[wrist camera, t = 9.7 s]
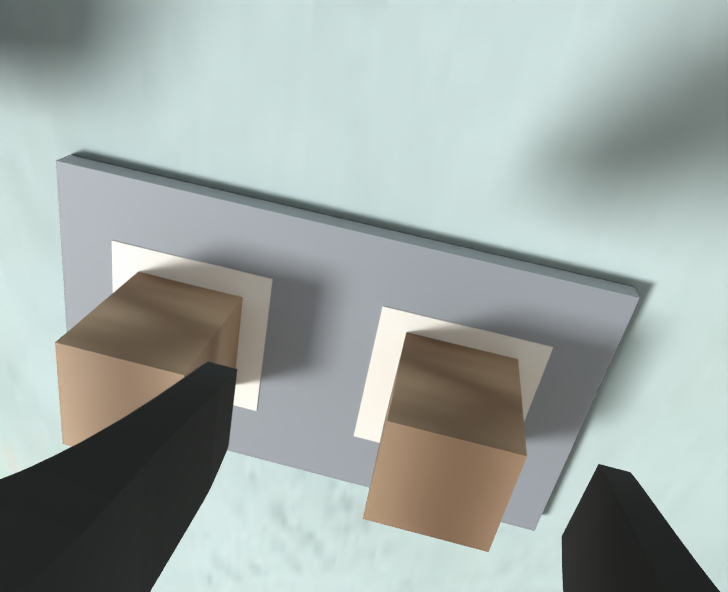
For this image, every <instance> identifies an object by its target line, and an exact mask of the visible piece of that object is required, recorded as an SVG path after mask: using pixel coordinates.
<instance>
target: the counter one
mask: <svg viewBox="0 0 728 592" xmlns="http://www.w3.org/2000/svg"><path fill="white" fill-rule="evenodd" d="M242 300H243V297H239V296H235V295H231V294H227V293H223V292H219V291H215V290H211V289H207V288H203V287H198V286H194V285H190V284H186V283H182V282H178V281H174V280H170V279H166V278H162V277H158V276H154V275H150V274H146V273H141V272H137V273H136V274H135V275H133V276H132V277H131V278H130V279H129V280H128V281H126V282H125V283H124V284H123V285H122V286H121V287H119V288H118V289H117V290H116V291H115V292H114V293H112V294H111V295H110V296H109V297H108V298H107V299H105V300H104V301H103V302H102V303H101V304H100V305H98V306H97V307H96V308H95V309H94V310H93V311H91V312H90V313H89V314H88V315H87V316H86V317H84V318H83V319H82V320H81V321H80V322H79V323H77V324H76V325H75V326H74V327H73V328H72V329H70V330H69V331H68V332H67V333H66V334H65V335H63V336H62V337H61V338H60V339H59V340H57V341H56V342H55V346H56V359H57V373H58V386H59V400H60V413H61V426H62V440H63V444H65V445H69V446H74V445H76V444H78V443H80V442H82V441H83V440H85V439H87V438H89V437H90V436H92V435H94V434H96V433H97V432H99V431H101V430H103V429H104V428H106V427H108V426H110V425H111V424H113V423H115V422H117V421H118V420H120V419H122V418H123V417H125V416H126V415H128V414H130V413H131V412H133V411H134V410H136V409H137V408H139V407H141V406H142V405H144V404H145V403H147V402H148V401H150V400H151V399H153V398H155V397H156V396H158V395H159V394H160V393H162V392H163V391H165V390H166V389H168V388H169V387H171V386H172V385H174V384H175V383H177V382H178V381H180V380H181V379H182V378H184V377H185V376H187V375H188V374H190V373H191V372H192V371H194V370H195V369H197V368H198V367H200V366H201V365H203V364H205V363H206V362H212V363H216V364H220V365H223V366H227V367H231V368H235V369H236V362H237V352H238V342H239V331H240V321H241V310H242Z"/></svg>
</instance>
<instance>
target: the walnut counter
mask: <svg viewBox="0 0 728 592" xmlns="http://www.w3.org/2000/svg"><path fill="white" fill-rule="evenodd" d="M526 458H527V451H526V440H525V429H524V418H523V407H522V396H521V385H520V374H519V363H518V359H516V358H511V357H507V356H503V355H499V354H495V353H491V352H487V351H482V350H478V349H474V348H470V347H466V346H462V345H458V344H453V343H449V342H445V341H441V340H437V339H433V338H429V337H424V336H420V335H416V334H412V333H408V332H406V335H405V339H404V343H403V348H402V352H401V356H400V360H399V364H398V368H397V372H396V376H395V380H394V384H393V388H392V392H391V396H390V400H389V404H388V408H387V413H386V417H385V421H384V425H383V430H382V434H381V439H380V443H379V448H378V452H377V457H376V461H375V466H374V471H373V475H372V480H371V484H370V489H369V493H368V498H367V502H366V507H365V511H364V516H363V519H365V520H369V521H373V522H377V523H381V524H384V525H388V526H392V527H396V528H400V529H403V530H407V531H411V532H415V533H419V534H422V535H426V536H430V537H434V538H438V539H441V540H445V541H449V542H453V543H457V544H460V545H464V546H468V547H472V548H476V549H479V550H483V551H487V552H489V549H490V547H491V544H492V542H493V539H494V537H495V534H496V532H497V529H498V527H499V524H500V522H501V520H502V517H503V515H504V512H505V510H506V507H507V505H508V502H509V500H510V497H511V495H512V492H513V490H514V487H515V485H516V482H517V480H518V477H519V475H520V472H521V470H522V468H523V465H524V463H525V460H526Z"/></svg>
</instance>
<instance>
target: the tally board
mask: <svg viewBox="0 0 728 592" xmlns="http://www.w3.org/2000/svg"><path fill="white" fill-rule="evenodd" d="M56 169H57V185H58V201H59V216H60V232H61V248H62V264H63V280H64V295H65V311H66V327H67V332H68V331H69V330H70V329H72V328H73V327H74V326H75V325H76V324H77V323H79V322H80V321H81V320H82V319H83V318H84V317H86V316H87V315H88V314H89V313H90V312H91V311H93V310H94V309H95V308H96V307H97V306H98V305H100V304H101V303H102V302H103V301H104V300H105V299H107V298H108V297H109V296H110V295H111V294H112V293H114V292H115V291H116V290H117V289H118V288H119V287H121V286H122V285H123V284H124V283H125V282H126V281H128V280H129V279H130V278H131V277H132V276H133V275H135V274H136V273H137V272H141V273H146V274H150V275H154V276H158V277H162V278H166V279H170V280H174V281H178V282H182V283H186V284H190V285H194V286H198V287H203V288H207V289H211V290H215V291H219V292H223V293H227V294H231V295H235V296H239V297H243V300H242V310H241V321H240V331H239V342H238V352H237V362H236V369H237V378H236V386H235V395H234V404H233V413H232V421H231V430H230V439H229V447H228V449H227V450H228V451H232V452H236V453H240V454H244V455H248V456H251V457H255V458H259V459H263V460H267V461H270V462H274V463H278V464H282V465H286V466H289V467H293V468H297V469H301V470H305V471H308V472H312V473H316V474H320V475H324V476H328V477H331V478H335V479H339V480H343V481H347V482H350V483H354V484H358V485H362V486H366V487H369V488H370V484H371V480H372V475H373V471H374V466H375V461H376V457H377V452H378V448H379V443H380V439H381V434H382V430H383V425H384V421H385V417H386V413H387V408H388V404H389V400H390V396H391V392H392V388H393V384H394V380H395V376H396V372H397V368H398V364H399V360H400V356H401V352H402V348H403V343H404V339H405V335H406V332H408V333H412V334H416V335H420V336H424V337H429V338H433V339H437V340H441V341H445V342H449V343H453V344H458V345H462V346H466V347H470V348H474V349H478V350H482V351H487V352H491V353H495V354H499V355H503V356H507V357H511V358H516V359H518V363H519V374H520V385H521V396H522V407H523V418H524V429H525V440H526V451H527V458H526V460H525V463H524V465H523V468H522V470H521V472H520V475H519V477H518V480H517V482H516V485H515V487H514V490H513V492H512V495H511V497H510V500H509V502H508V505H507V507H506V510H505V512H504V515H503V517H502V520H501V522H503V523H507V524H510V525H514V526H518V527H522V528H526V529H529V530H533V531H535V528H536V526H537V524H538V522H539V519H540V517H541V515H542V513H543V511H544V508H545V506H546V504H547V502H548V500H549V497H550V495H551V493H552V491H553V489H554V486H555V484H556V482H557V480H558V477H559V475H560V473H561V471H562V469H563V466H564V464H565V462H566V460H567V458H568V455H569V453H570V451H571V449H572V447H573V444H574V442H575V440H576V438H577V435H578V433H579V431H580V429H581V427H582V424H583V422H584V420H585V418H586V416H587V413H588V411H589V409H590V407H591V404H592V402H593V400H594V398H595V396H596V393H597V391H598V389H599V387H600V385H601V382H602V380H603V378H604V376H605V374H606V371H607V369H608V367H609V365H610V362H611V360H612V358H613V356H614V354H615V351H616V349H617V347H618V345H619V343H620V340H621V338H622V336H623V334H624V332H625V329H626V327H627V325H628V323H629V320H630V318H631V316H632V314H633V312H634V309H635V307H636V305H637V303H638V301H639V296H638V294H637V292H636V289H635V287H632V286H628V285H623V284H619V283H615V282H611V281H606V280H602V279H598V278H593V277H589V276H585V275H581V274H576V273H572V272H568V271H564V270H559V269H555V268H551V267H546V266H542V265H538V264H534V263H529V262H525V261H521V260H517V259H512V258H508V257H504V256H499V255H495V254H491V253H487V252H482V251H478V250H474V249H470V248H465V247H461V246H457V245H453V244H448V243H444V242H440V241H435V240H431V239H427V238H423V237H418V236H414V235H410V234H406V233H401V232H397V231H393V230H388V229H384V228H380V227H376V226H371V225H367V224H363V223H359V222H354V221H350V220H346V219H341V218H337V217H333V216H329V215H324V214H320V213H316V212H312V211H307V210H303V209H299V208H294V207H290V206H286V205H282V204H277V203H273V202H269V201H265V200H260V199H256V198H252V197H247V196H243V195H239V194H235V193H230V192H226V191H222V190H218V189H213V188H209V187H205V186H200V185H196V184H192V183H188V182H183V181H179V180H175V179H171V178H166V177H162V176H158V175H153V174H149V173H145V172H141V171H136V170H132V169H128V168H124V167H119V166H115V165H111V164H107V163H102V162H98V161H94V160H89V159H85V158H81V157H77V156H72V155H68V156H66V157H64V158H61V159H59V160H57V161H56Z"/></svg>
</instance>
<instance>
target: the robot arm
mask: <svg viewBox="0 0 728 592" xmlns="http://www.w3.org/2000/svg"><path fill="white" fill-rule="evenodd" d="M236 378H237V369H235V368H231V367H227V366H223V365H220V364H216V363H212V362H206V363H205V364H203V365H201V366H200V367H198V368H197V369H195V370H194V371H192V372H191V373H190V374H188V375H187V376H185V377H184V378H182V379H181V380H180V381H178V382H177V383H175V384H174V385H172V386H171V387H169V388H168V389H166V390H165V391H163V392H162V393H160V394H159V395H158V396H156V397H155V398H153V399H151V400H150V401H148V402H147V403H145V404H144V405H142V406H141V407H139V408H137V409H136V410H134V411H133V412H131V413H130V414H128V415H126V416H125V417H123V418H122V419H120V420H118V421H117V422H115V423H113V424H111V425H110V426H108V427H106V428H104V429H103V430H101V431H99V432H97V433H96V434H94V435H92V436H90V437H89V438H87V439H85V440H83V441H82V442H80V443H78V444H76V445H74V446H72V447H70V448H68V449H66V450H65V451H63V452H61V453H59V454H57V455H55V456H53V457H50V458H48V459H46V460H44V461H42V462H40V463H38V464H36V465H34V466H31V467H29V468H27V469H25V470H22V471H20V472H18V473H15V474H13V475H10V476H7V477H5V478H2V479H0V592H150V591H151V589H152V587H153V586H154V584H155V582H156V581H157V579H158V577H159V576H160V574H161V572H162V571H163V569H164V567H165V566H166V564H167V562H168V560H169V559H170V557H171V555H172V554H173V552H174V550H175V549H176V547H177V545H178V544H179V542H180V540H181V538H182V537H183V535H184V533H185V532H186V530H187V528H188V527H189V525H190V523H191V522H192V520H193V518H194V516H195V515H196V513H197V511H198V510H199V508H200V506H201V504H202V503H203V501H204V499H205V497H206V496H207V494H208V492H209V490H210V488H211V486H212V484H213V481H214V479H215V477H216V475H217V472H218V470H219V468H220V465H221V463H222V461H223V458H224V456H225V454H226V451H227V449H228V447H229V439H230V430H231V421H232V413H233V404H234V395H235V386H236ZM562 575H563V592H720V591H719V590H718V589H717V587H716V586H715V585H714V584H713V582H712V581H711V580H710V579H709V577H708V576H707V575H706V573H705V572H704V571H703V569H702V568H701V567H700V566H699V564H698V563H697V562H696V560H695V559H694V558H693V556H692V555H691V554H690V552H689V551H688V550H687V548H686V547H685V546H684V544H683V543H682V542H681V540H680V539H679V537H678V536H677V535H676V533H675V532H674V531H673V529H672V528H671V527H670V525H669V524H668V522H667V521H666V520H665V518H664V517H663V515H662V514H661V513H660V511H659V510H658V509H657V507H656V506H655V504H654V503H653V502H652V500H651V499H650V497H649V496H648V495H647V493H646V492H645V491H644V489H643V488H642V487H641V485H640V484H639V483H638V481H637V480H636V479H635V477H634V476H633V475H632V474H631V472H627V471H624V470H620V469H616V468H612V467H608V466H604V465H601V464H598V466H597V468H596V470H595V472H594V474H593V476H592V478H591V480H590V482H589V484H588V486H587V488H586V490H585V492H584V494H583V496H582V498H581V500H580V502H579V504H578V506H577V508H576V510H575V512H574V513H573V515H572V517H571V519H570V521H569V523H568V525H567V527H566V529H565V531H564V533H563V535H562Z"/></svg>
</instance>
